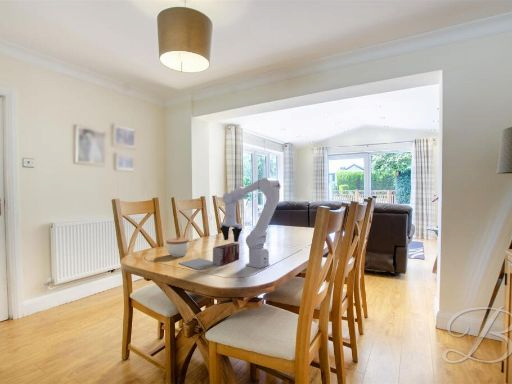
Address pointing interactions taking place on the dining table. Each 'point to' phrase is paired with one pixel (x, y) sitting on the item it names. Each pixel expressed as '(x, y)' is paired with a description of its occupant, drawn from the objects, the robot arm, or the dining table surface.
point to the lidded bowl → (177, 246)
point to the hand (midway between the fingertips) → (231, 240)
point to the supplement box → (225, 253)
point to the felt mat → (198, 264)
